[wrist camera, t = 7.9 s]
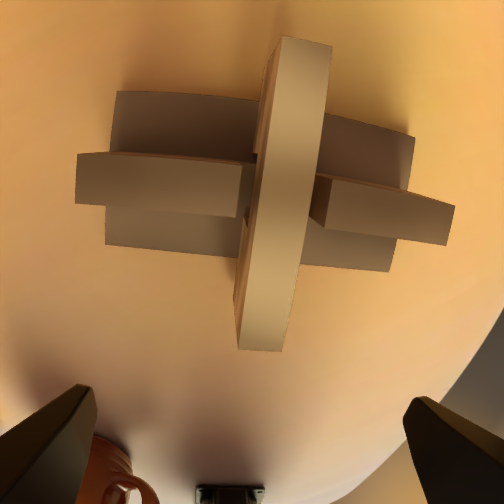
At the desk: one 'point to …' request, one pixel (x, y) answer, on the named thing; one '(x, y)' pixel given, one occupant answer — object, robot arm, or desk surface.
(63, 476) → the robot arm
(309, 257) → the joint base
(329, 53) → the oak plate
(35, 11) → the desk surface
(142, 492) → the mug
